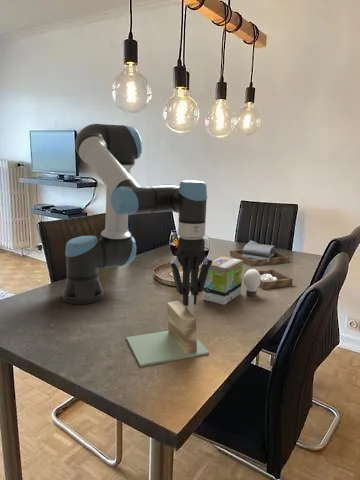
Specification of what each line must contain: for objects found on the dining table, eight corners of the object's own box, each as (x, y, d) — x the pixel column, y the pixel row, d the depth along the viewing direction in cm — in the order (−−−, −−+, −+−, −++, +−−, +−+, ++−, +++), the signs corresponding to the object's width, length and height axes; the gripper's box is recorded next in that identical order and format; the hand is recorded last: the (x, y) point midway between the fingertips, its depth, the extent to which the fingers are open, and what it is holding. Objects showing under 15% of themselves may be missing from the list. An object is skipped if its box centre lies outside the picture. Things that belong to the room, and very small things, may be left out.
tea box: (225, 305, 140) (227, 268, 137) (202, 300, 145) (203, 263, 142) (241, 294, 152) (243, 259, 149) (219, 289, 157) (221, 255, 154)
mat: (140, 366, 98) (140, 364, 98) (126, 338, 113) (126, 337, 113) (209, 353, 106) (209, 352, 105) (187, 329, 120) (187, 327, 120)
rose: (283, 275, 164) (270, 279, 158) (282, 284, 165) (269, 289, 159) (264, 269, 171) (251, 273, 165) (263, 278, 172) (250, 283, 166)
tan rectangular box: (185, 354, 104) (184, 321, 101) (168, 332, 117) (167, 302, 114) (197, 351, 105) (196, 318, 103) (179, 329, 118) (178, 300, 115)
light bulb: (245, 298, 147) (247, 271, 145) (240, 292, 154) (242, 266, 151) (262, 298, 148) (264, 271, 146) (256, 291, 155) (258, 266, 152)
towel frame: (249, 266, 191) (250, 260, 190) (229, 255, 210) (230, 250, 209) (288, 262, 199) (289, 257, 199) (266, 252, 218) (266, 247, 218)
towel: (241, 260, 199) (242, 246, 197) (248, 252, 215) (249, 239, 214) (270, 264, 193) (271, 249, 192) (275, 255, 210) (276, 242, 208)
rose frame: (262, 289, 158) (263, 282, 157) (244, 278, 172) (244, 272, 171) (292, 285, 164) (292, 279, 163) (272, 275, 177) (272, 269, 176)
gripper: (174, 241, 99) (172, 323, 104) (218, 238, 104) (214, 317, 109) (165, 235, 106) (164, 312, 111) (206, 232, 110) (203, 307, 116)
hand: (189, 314), depth 110 cm, fingers closed
